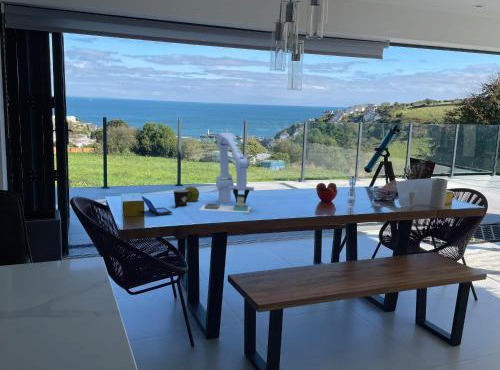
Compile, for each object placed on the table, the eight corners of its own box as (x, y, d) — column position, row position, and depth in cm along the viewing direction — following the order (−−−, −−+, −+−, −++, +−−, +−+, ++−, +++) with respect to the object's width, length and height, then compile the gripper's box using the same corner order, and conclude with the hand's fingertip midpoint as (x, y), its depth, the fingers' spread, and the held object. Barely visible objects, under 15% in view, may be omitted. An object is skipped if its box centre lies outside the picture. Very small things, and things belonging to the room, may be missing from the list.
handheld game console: (173, 215, 258) (173, 198, 256) (149, 217, 251) (149, 200, 250) (163, 209, 271) (163, 193, 269) (141, 211, 264) (141, 195, 263)
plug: (238, 205, 273) (238, 194, 271) (244, 206, 272) (245, 194, 271) (236, 207, 269) (237, 195, 268) (243, 207, 268) (244, 195, 267)
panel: (204, 206, 281) (204, 201, 280) (251, 208, 277) (251, 204, 277) (198, 211, 267) (198, 206, 267) (248, 214, 264) (248, 209, 263)
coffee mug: (174, 209, 272) (174, 192, 270) (172, 205, 280) (172, 189, 278) (194, 208, 275) (194, 191, 273) (192, 205, 283) (192, 189, 281)
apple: (200, 201, 295) (200, 184, 293) (197, 204, 286) (197, 186, 284) (184, 200, 296) (184, 183, 294) (181, 203, 287) (181, 186, 285)
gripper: (227, 180, 265) (227, 203, 267) (253, 181, 263) (252, 204, 265) (230, 178, 272) (229, 200, 274) (254, 179, 270) (253, 202, 272)
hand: (240, 202), depth 270 cm, fingers closed on plug, 4 cm apart
